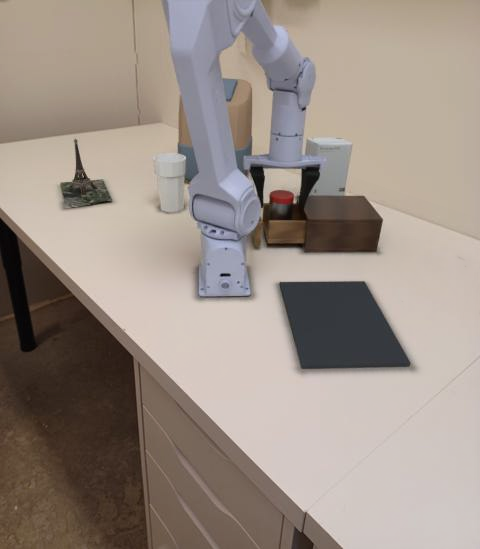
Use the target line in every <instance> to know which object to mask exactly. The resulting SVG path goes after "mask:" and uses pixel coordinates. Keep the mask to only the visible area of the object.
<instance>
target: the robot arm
mask: <svg viewBox="0 0 480 549" xmlns="http://www.w3.org/2000/svg"><path fill="white" fill-rule="evenodd" d="M160 1H161V5H162V9H163V13H164V18H165V23H166V26H167V31H168V35H169V47H170V48H169V49H170V56H171V60H172V64H173V68H174V72H175V76H176V81H177V85H178V89H179V95H180V94H181V98H182V102H183V107H184V111H185V115H186V119H187V123H188V128H189V132H190V136H191V140H192V145H193V149H194V153H195V157H196V161H197V166H198V170H199V173H198V174H197V175H196V176H195V177H194V178H193V179H192V180H191V182H189V184H188V185H187V190H188V195H189V198H188V199H189V200H188V210H189V215H190V217H191V218H192V220H193V221H195V222H196V228H197V229H198V230H200V249H201V250H200V259H201V260H200V262H201V263H200V264H199V265H198V296H199V297H249V296H251V293H252V292H251V286H250V280H249V275H248V267H247V251H248V235H249V234H252V231H253V230H254V229H255V227H256V226H257V224H258V221H259V218H260V216H261V213H262V209H263V204H264V192H265V190H264V189H265V180H266V176H265V170H264V169H266V170H267V169H268V170H269V169H271V170H274V169H275V170H278V169H279V170H282V169H283V170H285V169H286V170H301V174H300V189H299V194H298V195H299V206H300V208H304V207H305V204H306V201H307V198H308V196H309V194H310V192H311V190H312V188H313V186H314V185H315V184H316V182H317V181H318V180H319V177H320V172H319V170H325V169H326V161H327V160H326V159H325V157H322V156H309V155H305V154H303V145H304V144H303V143H304V135H305V125H306V115H307V107H308V106H309V105H310V102H311V97H312V92H313V90H314V87H315V84H316V78H317V74H316V73H317V72H316V71H317V70H316V64H315V63H314V62H313V61H312V60H311V59H310V58H309V57H306V56H302V54H301V52H300V51H299V49H298V48H297V46H296V45H295V43H294V41H293V40H292V38H291V36H290V35H289V33H288V30H287V28H286V27H285V26H283V25H282V26H280V25H277V24H276V25H275V24H273V23H272V20H271V18H270V16H269V15H268V13H267V11H266V9H265V7H264V4H263V3H262V0H160ZM241 33H242V34H243V35H244V36H245V37H246V38H247V39H248V40H249V41H250V43H252V44H251V54H252V57H253V58H254V60H255V61H256V63H258V65H259V66H260V68H261V69H262V70H263V72H264V75H265V78H266V86H267V89H268V91H271V92H272V99H271V100H272V101H271V102H272V103H271V117H270V134H269V135H270V136H269V147H268V148H269V150H268V153H263V154H252V156H244V160H243V167H244V170H248V171H249V173H250V177H251V179H252V181H251V180H250V178H248V177H247V175H244V174H243V173H242V172H241V171H240V170H239V169H238V168H237V162H236V157H235V151H234V145H233V139H232V133H231V127H230V121H229V115H228V109H227V103H226V97H225V91H224V85H223V79H222V78H223V74H222V67H221V62H220V57H221V54H222V52H223V51H225V50H227V49H228V48H230V47H232V46H233V45H234V43H235V42H236V40H237V39H238V37H239V36H240V34H241Z"/></svg>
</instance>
